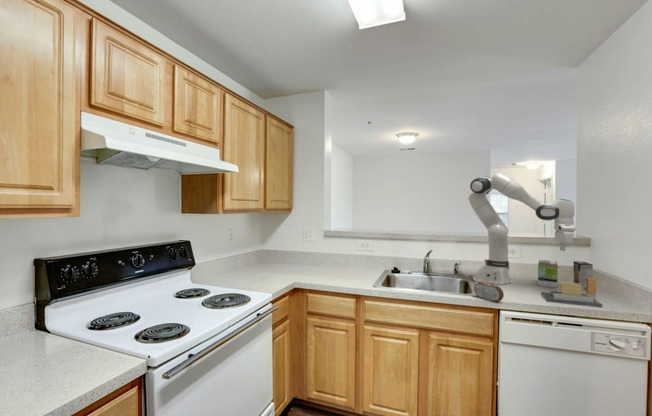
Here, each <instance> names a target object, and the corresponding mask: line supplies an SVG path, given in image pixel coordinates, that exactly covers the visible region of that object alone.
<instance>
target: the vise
mask: <svg viewBox="0 0 652 416" xmlns="http://www.w3.org/2000/svg"><path fill="white" fill-rule="evenodd" d="M540 295H541V296H542V297H543V298H544V300H546V302H548V303H558V304H568V305H577V306H585V307H586V306H587V307H594V308H595V307H597V308H603V304H602V303H601V302H600V301H598V300H596V299H594V298H593V297H592V296H581V295H570V294H559V293H553V295H550V294H549V292H546V291H541V292H540Z"/></svg>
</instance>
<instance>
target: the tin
mask: <svg viewBox="0 0 652 416" xmlns="http://www.w3.org/2000/svg"><path fill="white" fill-rule="evenodd" d="M502 289H503V288H501V287H499V286H498V284H493V283H485V282H477V283H475V284H474V290H473V291H474V293H475V295H476V296H477V297H478V298H480V299H484V300H487V301H490V302H494V303H495V302H500V301H502V300H503V299H504V291H503V290H502Z"/></svg>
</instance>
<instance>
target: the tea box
mask: <svg viewBox="0 0 652 416" xmlns="http://www.w3.org/2000/svg"><path fill="white" fill-rule="evenodd" d="M537 266H538V267H537V286H540V287H548V288H554V289H555V288H558V280H559V279H558V274H559V273H558V272H559V271H558V269H559V267H558V266H559V265H558V261H557V260H546V259H544V260H543V259H538V265H537Z"/></svg>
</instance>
